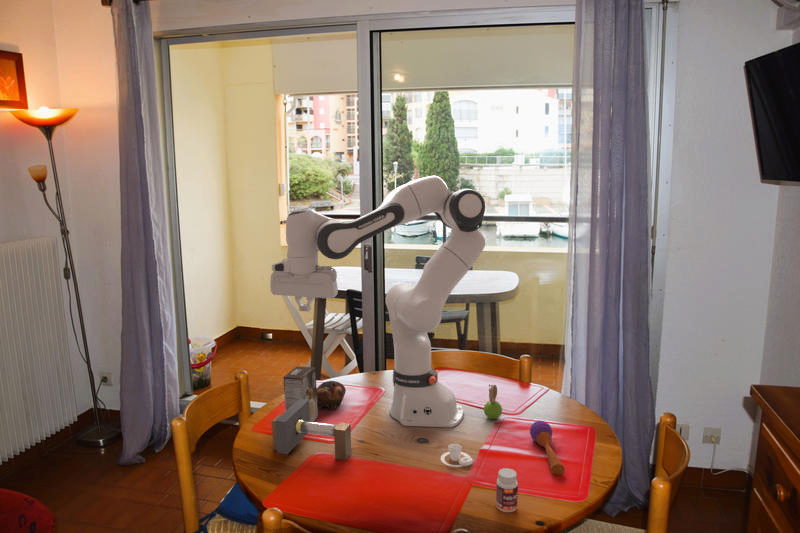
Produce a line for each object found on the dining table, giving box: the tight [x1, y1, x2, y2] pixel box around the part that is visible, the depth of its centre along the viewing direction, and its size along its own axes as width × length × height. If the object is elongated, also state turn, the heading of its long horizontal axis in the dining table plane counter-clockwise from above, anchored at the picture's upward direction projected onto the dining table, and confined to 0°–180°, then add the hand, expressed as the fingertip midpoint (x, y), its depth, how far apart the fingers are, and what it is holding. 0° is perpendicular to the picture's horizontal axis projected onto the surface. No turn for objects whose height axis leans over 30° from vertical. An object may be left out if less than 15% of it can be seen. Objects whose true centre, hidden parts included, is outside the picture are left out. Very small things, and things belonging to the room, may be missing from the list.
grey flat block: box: [275, 399, 310, 455], centre depth 158 cm, size 3×14×9 cm, turn 163°
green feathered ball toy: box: [483, 384, 503, 420], centre depth 174 cm, size 5×6×12 cm
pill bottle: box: [495, 467, 519, 513], centre depth 131 cm, size 5×5×8 cm
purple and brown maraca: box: [529, 420, 565, 476], centre depth 154 cm, size 6×6×20 cm
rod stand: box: [271, 414, 352, 462], centre depth 157 cm, size 21×4×9 cm, turn 74°
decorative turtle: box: [316, 380, 347, 411], centre depth 185 cm, size 10×15×8 cm, turn 166°
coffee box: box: [283, 365, 319, 422], centre depth 173 cm, size 9×6×16 cm
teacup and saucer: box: [440, 442, 474, 468], centre depth 152 cm, size 9×8×4 cm
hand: (305, 310), depth 173 cm, fingers closed
